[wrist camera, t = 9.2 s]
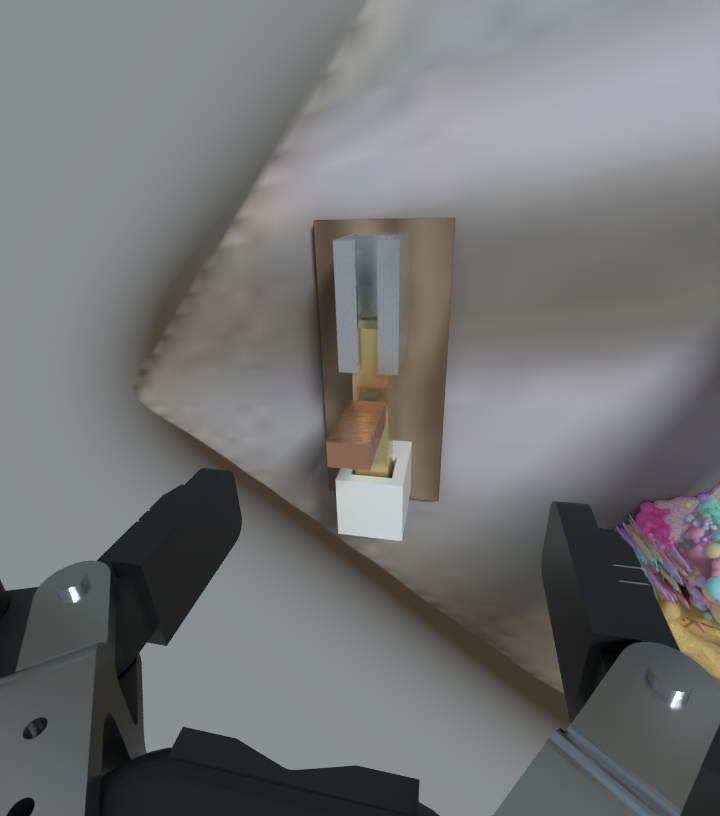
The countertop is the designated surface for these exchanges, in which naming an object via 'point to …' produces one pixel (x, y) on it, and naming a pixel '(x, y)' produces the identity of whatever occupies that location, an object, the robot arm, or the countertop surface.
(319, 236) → the base board
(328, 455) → the sliding latch bolt
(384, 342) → the sleeve
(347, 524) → the socket
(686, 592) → the candy landscape model
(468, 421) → the countertop surface
